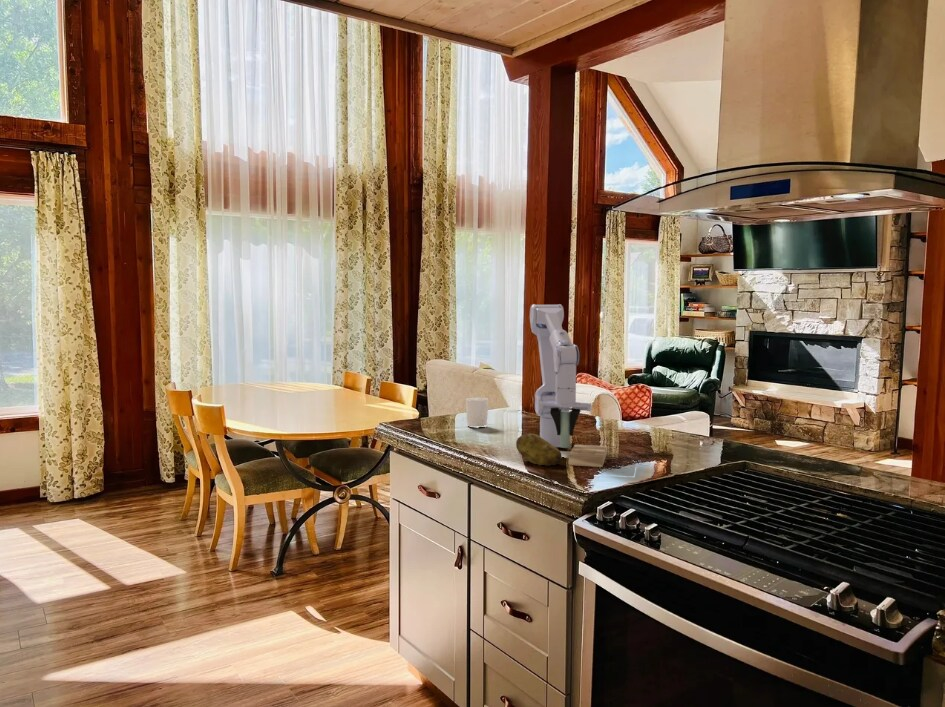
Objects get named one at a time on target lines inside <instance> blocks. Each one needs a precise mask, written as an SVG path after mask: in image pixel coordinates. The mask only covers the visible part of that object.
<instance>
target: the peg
mask: <svg viewBox="0 0 945 707" xmlns="http://www.w3.org/2000/svg"><path fill="white" fill-rule="evenodd" d="M570 412H571V411H569V412H560V447H559V448H563V449H569V448H571V436H570V426H571V420H570Z"/></svg>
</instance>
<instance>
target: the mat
mask: <svg viewBox="0 0 945 707" xmlns="http://www.w3.org/2000/svg"><path fill="white" fill-rule="evenodd" d="M559 451H560V452H561V456H562V457H564V458H565V459H569V454H570V452H571V451H566V450H559Z"/></svg>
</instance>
